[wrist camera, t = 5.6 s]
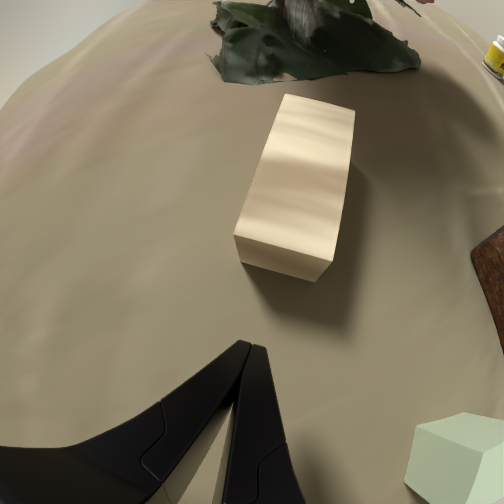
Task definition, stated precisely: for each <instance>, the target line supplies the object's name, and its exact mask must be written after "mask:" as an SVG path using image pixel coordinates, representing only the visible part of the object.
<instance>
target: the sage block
mask: <svg viewBox="0 0 504 504" xmlns="http://www.w3.org/2000/svg"><path fill="white" fill-rule="evenodd" d="M404 482H405V483H406V484H407V485H408V486H409V487H410V488H412V489H413V490H414V491H415V492H416V493H418V494H419V495H420V496H421V497H422V498H424V499H425V500H426V501H427V502H429V503H430V504H493V503H494V502H496V501H497V500H499V499H500V498H502V497H503V496H504V420H499V419H493V418H488V417H483V416H479V415H474V414H470V413H465V412H464V413H461V414H458V415H454V416H451V417H448V418H444V419H440V420H437V421H433V422H429V423H425V424H420V425H416V428H415V434H414V439H413V444H412V449H411V454H410V458H409V462H408V467H407V470H406V474H405V478H404Z"/></svg>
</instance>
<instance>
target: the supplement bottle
mask: <svg viewBox="0 0 504 504" xmlns="http://www.w3.org/2000/svg"><path fill="white" fill-rule="evenodd" d="M482 63H483V66H484V67H485V68H486V69H487V70H488V71H489V72H490V73H491V74H493V75H494V76H495V77H497V78H498V79H501V78H502V77H503V75H504V38H503V37H502V36H500V35H499V36H498V38H497V42H496V41H494V42H493V43H492V45H491V47H490V49H489V51H488V53H487V55H486V56H485V58H484V60H483V62H482Z"/></svg>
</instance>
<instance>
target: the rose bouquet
mask: <svg viewBox="0 0 504 504" xmlns="http://www.w3.org/2000/svg"><path fill="white" fill-rule="evenodd" d="M395 1H397V2H398V3H399V4H400V5H402V6H403V7H404V6H407V7H408V8H410V9H411V10H413V11H414V12H415V13H416V14H417V15H418V16H420V15H419V14H418V13H417V12H416V11H415V10H414V9H413V8H412V7H410V6H409V5H408V4H406V3H405V2H404V1H403V0H395ZM416 1H417V2H419V3H421V4H426V3H434V0H416ZM213 4H214V5H217V7H216V8H217V13H218V14H216V19H215V20H214V21H210V26H211V27H220V28H221V29H222V30H223V31H224V32H225V34H224V35H223V42H222V49H221V52H220V54H219V55H220V56H217V55H216V56H215V58H212V57H211V56H209V55H207V54H206V53H205V54H206V55H207V56H208V58H209V59H210V61H211V62H212V63H213V65H214V66H215V67H216V69H217V70H218V72H219V73H220V75H221V77H222V79H223V81H224V82H238V83H244V84H249V85H258V84H266V83H274V82H284V81H273V78H274V77H276V76H278V75H279V74H280V73H287V74H290V75H291V76H293V77H295V78H296V79H297V80H307V79H308V80H311V79H315V78H320V77H326V76H332V75H340V74H346V75H349V74H347V71H353V70H371V71H376V72H398V71H402V70H404V69H407V68H410V67H414V68H417V69H419V66H420V64H421V60H420V58H419V54H418V53H417V52H416V51H415V50H413V49H410V48H409V47H408V46H407V45H408V41H407V40H406V41H400V40H398V39H397V38H395V37H394V36H393V35H392V32H390V31H388V30H386V29H384V28H383V27H381V26H380V25H378V24H377V23H376V22H374V21H373V20H372V14H371V11H370V8H369V6H368V4H367V1H366V0H355V1H354V3H350V1H349V0H272V1H270V2H269V3H268V4H267V5H265V6H264V5H259V4H253V3H236V2H232V1H229V0H221V1H220V2H213ZM420 17H421V16H420ZM323 49H325V50H326V51H327V52H325V51H323ZM346 70H347V71H346ZM292 81H296V80H292Z"/></svg>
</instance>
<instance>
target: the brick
mask: <svg viewBox="0 0 504 504" xmlns="http://www.w3.org/2000/svg"><path fill="white" fill-rule="evenodd" d="M471 255H472V259H473V262H474V265H475V268H476V271H477V274H478V277H479V280H480V283H481V285H482V288H483V290H484V293H485V296H486V299H487V301H488V304H489V307H490V309H491V312H492V314H493V317H494V321H495V324H496V327H497V331H498V335H499V338H500V342H501V346H502V349H503V353H504V226H502V227H501V228H500V229H498V230H497V231H496V232H494V233H493V234H492V235H490V236H489V237H488V238H486V239H485V240H484V241H483V242H481V243H480V244H479V245H478V246H476V247H475V248H474V249H473V250H472V251H471Z"/></svg>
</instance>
